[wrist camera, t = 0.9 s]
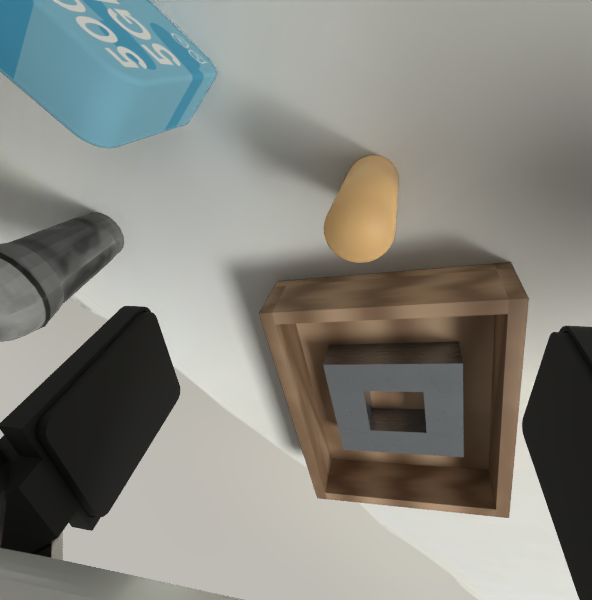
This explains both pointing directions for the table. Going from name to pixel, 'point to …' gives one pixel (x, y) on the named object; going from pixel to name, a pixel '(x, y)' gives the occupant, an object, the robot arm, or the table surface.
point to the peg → (364, 211)
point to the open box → (407, 329)
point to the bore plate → (398, 378)
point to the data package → (103, 66)
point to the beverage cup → (51, 270)
